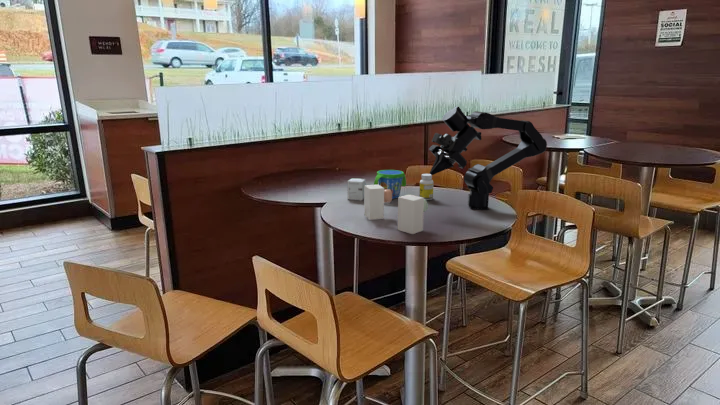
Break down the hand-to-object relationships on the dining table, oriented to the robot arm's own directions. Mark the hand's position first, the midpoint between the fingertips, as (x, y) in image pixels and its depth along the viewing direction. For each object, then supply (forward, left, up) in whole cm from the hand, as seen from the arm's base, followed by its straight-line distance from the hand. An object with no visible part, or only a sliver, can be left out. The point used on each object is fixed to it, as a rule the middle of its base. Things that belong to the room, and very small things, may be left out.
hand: (430, 174), depth 168 cm
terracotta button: (+17, +6, -9) cm, 20 cm away
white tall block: (+19, +7, -14) cm, 25 cm away
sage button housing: (+8, +21, -14) cm, 26 cm away
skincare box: (+27, -19, -14) cm, 35 cm away
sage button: (+6, +19, -9) cm, 22 cm away
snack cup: (+14, -21, -14) cm, 28 cm away
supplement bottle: (0, -19, -14) cm, 23 cm away
